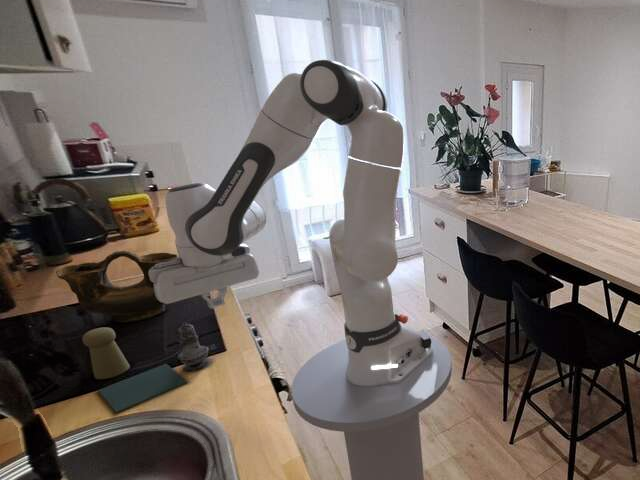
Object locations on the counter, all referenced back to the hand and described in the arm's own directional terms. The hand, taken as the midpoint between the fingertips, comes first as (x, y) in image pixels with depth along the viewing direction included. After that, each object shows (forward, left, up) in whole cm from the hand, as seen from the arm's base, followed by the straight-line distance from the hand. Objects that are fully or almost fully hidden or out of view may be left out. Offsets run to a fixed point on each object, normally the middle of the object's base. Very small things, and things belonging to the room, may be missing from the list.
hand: (216, 305), depth 100 cm
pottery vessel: (+6, -42, -14) cm, 44 cm away
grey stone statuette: (+7, 0, -14) cm, 15 cm away
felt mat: (+17, 0, -13) cm, 21 cm away
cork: (+19, -13, -14) cm, 27 cm away
